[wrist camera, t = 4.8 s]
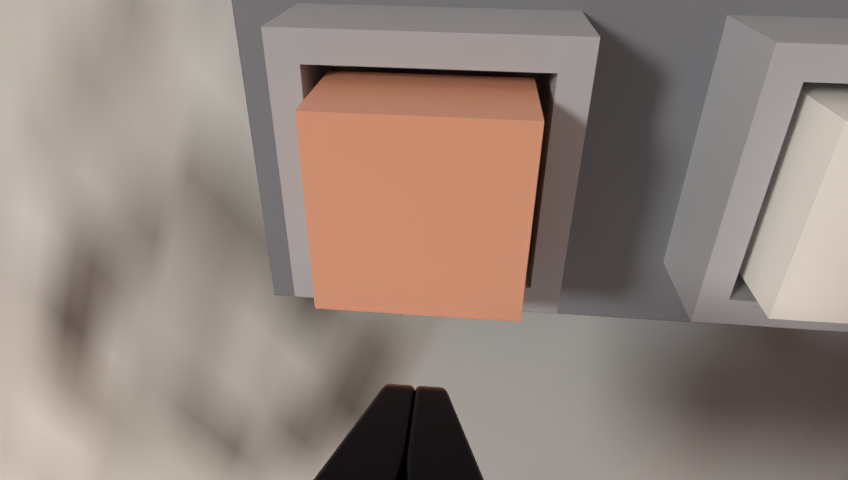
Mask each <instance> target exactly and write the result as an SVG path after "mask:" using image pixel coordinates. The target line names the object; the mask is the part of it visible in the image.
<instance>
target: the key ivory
mask: <svg viewBox="0 0 848 480" xmlns="http://www.w3.org/2000/svg"><path fill="white" fill-rule="evenodd" d="M739 273H740V275H741V276H742V278H743V280H744V281H745V283H746V284H747V286H748V287H749V289H750V290H751V292H752V294H753V295H754V297H755V298H756V300H757V301H758V303H759V305H760V306H761V308H762V309H763V311H764V312H765V314H766V315H767V317H768V319H782V320H797V321H813V322H829V323H844V324H848V84H843V83H815V82H803V85H802V88H801V91H800V94H799V97H798V100H797V103H796V106H795V109H794V111H793V114H792V117H791V120H790V123H789V126H788V129H787V132H786V135H785V138H784V141H783V144H782V147H781V150H780V153H779V156H778V158H777V161H776V164H775V167H774V170H773V173H772V176H771V179H770V182H769V185H768V188H767V191H766V194H765V197H764V200H763V203H762V205H761V208H760V211H759V214H758V217H757V220H756V223H755V226H754V229H753V232H752V235H751V238H750V241H749V244H748V247H747V249H746V252H745V255H744V258H743V261H742V264H741V267H740V270H739Z"/></svg>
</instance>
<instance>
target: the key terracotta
mask: <svg viewBox="0 0 848 480" xmlns="http://www.w3.org/2000/svg"><path fill="white" fill-rule="evenodd" d="M295 121H296V130H297V140H298V149H299V159H300V168H301V178H302V187H303V197H304V206H305V216H306V225H307V235H308V244H309V254H310V263H311V273H312V283H313V292H314V302H315V308H320V309H335V310H350V311H365V312H380V313H395V314H411V315H426V316H441V317H456V318H471V319H486V320H501V321H517V322H521V314H522V306H523V297H524V289H525V280H526V272H527V264H528V255H529V247H530V239H531V230H532V222H533V213H534V205H535V197H536V188H537V180H538V171H539V163H540V155H541V146H542V138H543V129H544V117H543V113H542V108H541V104H540V100H539V95H538V91H537V87H536V83H535V78H519V77H491V76H463V75H435V74H408V73H380V72H352V71H328V72H327V73H326V74H325V75H324V77H323V78H322V79H321V80H320V81H319V82H318V84H317V85H316V86H315V87H314V88H313V90H312V91H311V92H310V93H309V94H308V95H307V97H306V98H305V99H304V100H303V101H302V103H301V104H300V105H299V106H298V107H297V108H296V110H295Z"/></svg>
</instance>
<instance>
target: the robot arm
mask: <svg viewBox="0 0 848 480" xmlns="http://www.w3.org/2000/svg"><path fill="white" fill-rule="evenodd" d="M314 480H484V479H483V477H482V475H481V472H480V470H479V467H478V465H477V463H476V460H475V458H474V455H473V453H472V451H471V448H470V446H469V443H468V441H467V439H466V436H465V434H464V431H463V429H462V427H461V424H460V422H459V419H458V417H457V415H456V412H455V410H454V407H453V405H452V403H451V400H450V398H449V395H448V393H447V391H446V390H445V389H444V388H441V387H428V386H419V387H417V388H416V390H415V389H414V387H412V386H410V385H397V384H387V385H385V386H384V387H383V388H382V389H381V391H380V392H379V393H378V395H377V396H376V397H375V399H374V400H373V401H372V403H371V404H370V405H369V407H368V408H367V409H366V411H365V412H364V413H363V415H362V416H361V417H360V419H359V420H358V421H357V423H356V424H355V425H354V427H353V428H352V429H351V431H350V432H349V433H348V435H347V436H346V437H345V439H344V440H343V441H342V443H341V444H340V445H339V447H338V448H337V449H336V451H335V452H334V453H333V455H332V456H331V457H330V459H329V460H328V461H327V463H326V464H325V465H324V467H323V468H322V469H321V471H320V472H319V473H318V475H317V476H316V477H315V479H314Z"/></svg>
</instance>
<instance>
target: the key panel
mask: <svg viewBox="0 0 848 480" xmlns="http://www.w3.org/2000/svg"><path fill="white" fill-rule="evenodd" d="M232 6H233V13H234V20H235V27H236V34H237V40H238V47H239V54H240V61H241V68H242V74H243V81H244V88H245V95H246V102H247V108H248V115H249V122H250V129H251V136H252V143H253V149H254V156H255V163H256V170H257V177H258V183H259V190H260V197H261V204H262V211H263V218H264V224H265V231H266V238H267V245H268V252H269V258H270V265H271V272H272V279H273V286H274V292H275V295H279V296H295V297H310V298H314V292H313V283H312V273H311V263H310V254H309V244H308V235H307V225H306V216H305V206H304V197H303V187H302V178H301V168H300V159H299V149H298V140H297V130H296V121H295V110H296V108H297V107H298V106H299V105H300V104H301V103H302V101H303V100H304V99H305V98H306V97H307V95H308V94H309V93H310V92H311V91H312V90H313V88H314V87H315V86H316V85H317V84H318V82H319V81H320V80H321V79H322V78H323V77H324V75H325V74H326V73H327V72H328V71H352V72H380V73H408V74H435V75H463V76H491V77H519V78H535V83H536V87H537V91H538V95H539V100H540V104H541V108H542V113H543V117H544V129H543V138H542V146H541V155H540V163H539V171H538V180H537V188H536V197H535V205H534V213H533V222H532V230H531V239H530V247H529V255H528V264H527V272H526V280H525V289H524V297H523V306H522V311H527V312H542V313H558V314H573V315H589V316H604V317H619V318H635V319H650V320H666V321H681V322H697V323H712V324H728V325H743V326H759V327H774V328H789V329H805V330H820V331H836V332H848V324H844V323H829V322H813V321H797V320H782V319H768V317H767V315H766V314H765V312H764V311H763V309H762V308H761V306H760V305H759V303H758V301H757V300H756V298H755V297H754V295H753V294H752V292H751V290H750V289H749V287H748V286H747V284H746V283H745V281H744V280H743V278H742V276H741V275H740V273H739V270H740V267H741V264H742V261H743V258H744V255H745V252H746V249H747V247H748V244H749V241H750V238H751V235H752V232H753V229H754V226H755V223H756V220H757V217H758V214H759V211H760V208H761V205H762V203H763V200H764V197H765V194H766V191H767V188H768V185H769V182H770V179H771V176H772V173H773V170H774V167H775V164H776V161H777V158H778V156H779V153H780V150H781V147H782V144H783V141H784V138H785V135H786V132H787V129H788V126H789V123H790V120H791V117H792V114H793V111H794V109H795V106H796V103H797V100H798V97H799V94H800V91H801V88H802V85H803V82H815V83H843V84H848V0H232Z"/></svg>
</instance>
